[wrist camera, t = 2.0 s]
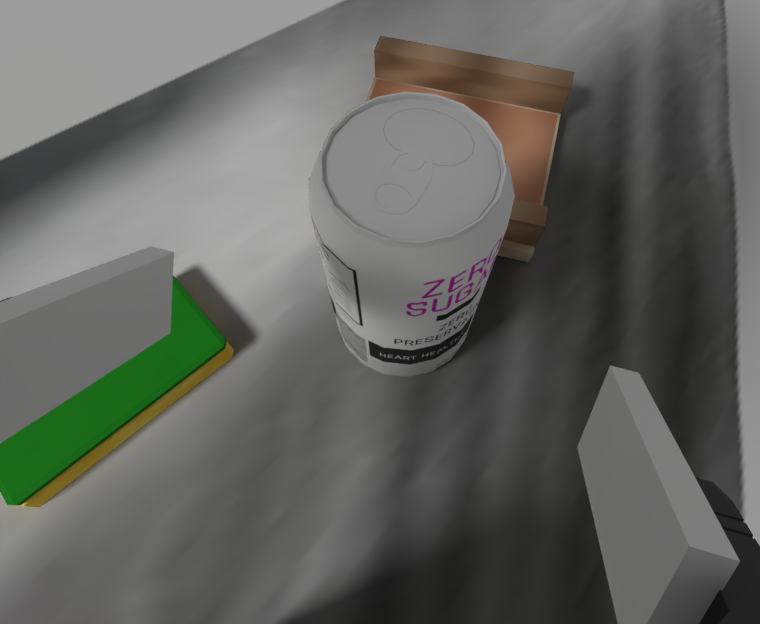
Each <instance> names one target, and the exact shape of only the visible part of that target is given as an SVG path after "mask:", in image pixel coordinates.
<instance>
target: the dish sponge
mask: <svg viewBox="0 0 760 624" xmlns="http://www.w3.org/2000/svg"><path fill="white" fill-rule="evenodd" d="M233 352H234V349H233V348H232V347H231V345H230V344H229V343H228V342H227V340H226V339H225V338H224V337H223V336H222V334H221V333H220V332H219V331H218V329H217V328H216V327H215V326H214V325H213V323H212V322H211V321H210V320H209V319H208V317H207V316H206V315H205V314H204V312H203V311H202V310H201V309H200V308H199V306H198V305H197V304H196V303H195V301H194V300H193V299H192V298H191V297H190V295H189V294H188V293H187V292H186V290H185V289H184V288H183V287H182V286H181V284H180V283H179V282H178V281H177V280H176V278H175V277H174V276H173V284H172V309H171V333H170V334H168V335H166V336H165V337H163V338H162V339H160V340H159V341H157V342H156V343H154V344H153V345H151V346H150V347H148V348H146V349H145V350H143V351H142V352H140V353H139V354H137V355H136V356H134V357H133V358H131V359H130V360H128V361H126V362H125V363H123V364H122V365H120V366H119V367H117V368H116V369H114V370H113V371H111V372H110V373H108V374H106V375H105V376H103V377H102V378H100V379H99V380H97V381H96V382H94V383H93V384H91V385H90V386H88V387H86V388H85V389H83V390H82V391H80V392H79V393H77V394H76V395H74V396H73V397H71V398H70V399H68V400H66V401H65V402H63V403H62V404H60V405H59V406H57V407H56V408H54V409H53V410H51V411H50V412H48V413H46V414H45V415H43V416H42V417H40V418H39V419H37V420H36V421H34V422H33V423H31V424H30V425H28V426H26V427H25V428H23V429H22V430H20V431H19V432H17V433H16V434H14V435H13V436H11V437H10V438H8V439H6V440H5V441H3V442H2V443H0V492H1V494H2V496H3V497H4V499H5V501H6V503H7V505H17V506H27V507H40V506H41V505H43V504H44V503H45V502H47V501H48V500H49V499H50V498H52V497H53V496H54V495H56V494H57V493H58V492H59V491H61V490H62V489H63V488H65V487H66V486H67V485H68V484H70V483H71V482H72V481H74V480H75V479H76V478H77V477H79V476H80V475H81V474H83V473H84V472H85V471H86V470H88V469H89V468H90V467H92V466H93V465H94V464H95V463H97V462H98V461H99V460H101V459H102V458H103V457H104V456H106V455H107V454H108V453H110V452H111V451H112V450H114V449H115V448H116V447H117V446H119V445H120V444H121V443H123V442H124V441H125V440H126V439H128V438H129V437H130V436H132V435H133V434H134V433H135V432H137V431H138V430H139V429H141V428H142V427H143V426H144V425H146V424H147V423H148V422H150V421H151V420H152V419H153V418H155V417H156V416H157V415H159V414H160V413H161V412H162V411H164V410H165V409H166V408H168V407H169V406H170V405H171V404H173V403H174V402H175V401H177V400H178V399H179V398H180V397H182V396H183V395H184V394H186V393H187V392H188V391H190V390H191V389H192V388H193V387H195V386H196V385H197V384H199V383H200V382H201V381H202V380H204V379H205V378H206V377H208V376H209V375H210V374H211V373H213V372H214V371H215V370H217V369H218V368H219V367H220V366H222V365H223V364H224V363H226V362H227V361H228V360H229V359H231V358H232V357H233Z"/></svg>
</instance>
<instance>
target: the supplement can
mask: <svg viewBox="0 0 760 624" xmlns="http://www.w3.org/2000/svg"><path fill="white" fill-rule="evenodd" d="M514 198H515V194H514V189H513V184H512V179H511V173H510V168H509V165H508V164H507V162H506V160H505V158H504V153H503V148H502V144H501V142H500V141H499V139H498V138H497V136H496V135H495V133H494V131H493V130H492V128H491V127H490V125H489V124H488V122H487V121H486V120H484V119H483V118H482V117H480V116H479V115H478V114H476V113H475V112H474V111H472V110H471V109H470V108H468V107H467V106H466V105H464V104H462V103H459V102H457V101H454V100H451V99H448V98H445V97H443V96H440V95H437V94H430V93H417V92H400V93H395V94H390V95H385V96H379V97H375V98H373V99H371V100H369V101H367V102H365V103H363V104H361V105H359V106H357V107H355V108H353V109H351V110H349V111H348V112H347V113H346V114H345V115H344V116H343V117H342V118H341V119H340V120H339V121H338V122H337V124H336V125H335V126H334V127H333V128H332V129H331V130H330V131H329V134H328V136H327V138H326V140H325V143H324V145H323V147H322V150H321V151H320V154H319V156H318V158H317V161H316V163H315V165H314V168H313V170H312V172H311V175H310V177H309V210H310V214H311V218H312V222H313V227H314V231H315V235H316V239H317V243H318V247H319V251H320V255H321V259H322V263H323V267H324V272H325V276H326V280H327V284H328V288H329V292H330V296H331V300H332V304H333V308H334V312H335V316H336V321H337V325H338V328H339V330H340V333H341V335H342V337H343V340H344V342H345V344H346V347H347V348H348V349H349V350H350V351H351V352H352V353H353V354H354V355H355V356H356V358H357V359H358V360H359V361H360V362H361V363H362V364H364V365H366V366H368V367H370V368H372V369H374V370H376V371H378V372H380V373H383V374H386V375H395V376H404V377H410V376H415V375H419V374H423V373H428V372H432V371H433V370H435V369H436V368H438V367H440V366H441V365H443V364H444V363H446V362H447V361H449V360H450V359H452V357H453V356H454V355H455V353H456V352H457V350H458V349H459V348H460V346H461V345H462V344H463V342H464V341H465V338H466V336H467V333H468V330H469V328H470V325H471V322H472V320H473V317H474V314H475V312H476V309H477V306H478V304H479V301H480V298H481V296H482V293H483V290H484V288H485V285H486V282H487V280H488V277H489V274H490V272H491V269H492V266H493V264H494V261H495V258H496V256H497V253H498V250H499V248H500V245H501V242H502V240H503V237H504V234H505V232H506V229H507V226H508V223H509V218H510V214H511V210H512V206H513V202H514Z"/></svg>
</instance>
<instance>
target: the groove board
mask: <svg viewBox="0 0 760 624" xmlns="http://www.w3.org/2000/svg"><path fill="white" fill-rule="evenodd" d="M374 53H375V79H374V82H373V84H372V87H371V89H370V92H369V95H368V97H367V100H366V102H367V101H369V100H371V99H373V98H375V97H379V96H385V95H390V94H395V93H400V92H417V93H430V94H437V95H440V96H443V97H445V98H448V99H451V100H454V101H457V102H459V103H462V104H464V105H466V106H467V107H468V108H470V109H471V110H472V111H474V112H475V113H476V114H478V115H479V116H480V117H482V118H483V119H484V120H486V121H487V122H488V124H489V125H490V127H491V128H492V130H493V131H494V133H495V135H496V136H497V138H498V139H499V141H500V142H501V144H502V148H503V153H504V158H505V160H506V162H507V164H508V165H509V168H510V173H511V179H512V184H513V189H514V194H515V198H514V202H513V206H512V210H511V214H510V218H509V223H508V226H507V229H506V232H505V234H504V237H503V240H502V242H501V245H500V248H499V250H498V253H497V255H499V256H503V257H507V258H511V259H516V260H520V261H524V262H528V263H529V262H530V260H531V258H532V256H533V254H534V249H535V246H536V244H537V242H538V240H539V238H540V236H541V234H542V232H543V230H544V228H545V224H546V218H547V213H548V208H549V206H544V205H543V203H544V198H545V193H546V187H547V182H548V177H549V172H550V167H551V162H552V157H553V152H554V146H555V141H556V136H557V131H558V126H559V121H560V116H561V112H562V110H563V107H564V105H565V102H566V100H567V97H568V95H569V92H570V90H571V87H572V82H573V76H574V72H570V71H565V70H560V69H555V68H549V67H544V66H539V65H533V64H528V63H523V62H517V61H512V60H507V59H501V58H496V57H491V56H485V55H480V54H475V53H469V52H464V51H459V50H453V49H448V48H443V47H437V46H432V45H427V44H421V43H416V42H411V41H405V40H400V39H395V38H389V37H384V36H380V37H379V40H378V42H377V45H376V47H375V50H374Z"/></svg>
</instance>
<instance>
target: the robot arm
mask: <svg viewBox="0 0 760 624" xmlns="http://www.w3.org/2000/svg"><path fill="white" fill-rule="evenodd" d="M173 259H174V252H171V251H167V250H163V249H159V248H155V247H148V248H146V249H143V250H140V251H137V252H135V253H132V254H129V255H127V256H124V257H121V258H118V259H116V260H113V261H110V262H108V263H105V264H102V265H99V266H97V267H94V268H91V269H88V270H86V271H83V272H80V273H78V274H75V275H72V276H69V277H67V278H64V279H61V280H59V281H56V282H53V283H50V284H48V285H45V286H42V287H39V288H37V289H34V290H31V291H29V292H26V293H23V294H20V295H18V296H15V297H10V298H7V299H4V300H2V301H0V443H2V442H3V441H5V440H6V439H8V438H10V437H11V436H13V435H14V434H16V433H17V432H19V431H20V430H22V429H23V428H25V427H26V426H28V425H30V424H31V423H33V422H34V421H36V420H37V419H39V418H40V417H42V416H43V415H45V414H46V413H48V412H50V411H51V410H53V409H54V408H56V407H57V406H59V405H60V404H62V403H63V402H65V401H66V400H68V399H70V398H71V397H73V396H74V395H76V394H77V393H79V392H80V391H82V390H83V389H85V388H86V387H88V386H90V385H91V384H93V383H94V382H96V381H97V380H99V379H100V378H102V377H103V376H105V375H106V374H108V373H110V372H111V371H113V370H114V369H116V368H117V367H119V366H120V365H122V364H123V363H125V362H126V361H128V360H130V359H131V358H133V357H134V356H136V355H137V354H139V353H140V352H142V351H143V350H145V349H146V348H148V347H150V346H151V345H153V344H154V343H156V342H157V341H159V340H160V339H162V338H163V337H165V336H166V335H168V334H170V333H171V309H172V284H173ZM577 448H578V453H579V457H580V461H581V466H582V470H583V474H584V479H585V483H586V487H587V492H588V496H589V501H590V505H591V509H592V514H593V518H594V522H595V527H596V531H597V535H598V540H599V544H600V549H601V553H602V557H603V562H604V566H605V570H606V575H607V579H608V583H609V588H610V592H611V597H612V601H613V605H614V610H615V614H616V618H617V623H618V624H760V546H759V545H758V543H757V542H756V540H755V539H753V538H752V536H753V535H752V533H751V531H750V530H749V528H748V526H747V525H746V523H743V518H742V516H741V515H740V513H739V511H738V510H737V508H736V506H735V505H734V503H733V501H732V500H731V499H730V498H729V497H728V496H727V495H725V494H724V493H723V492H722V491H721V490H720V489H719V488H718V487H717V486H716V485H715V484H714V483H713V482H710V481H706V480H702V479H699V478H695V476H694V474H693V473H692V471H691V469H690V467H689V465H688V463H687V461H686V460H685V458H684V456H683V454H682V452H681V450H680V448H679V447H678V445H677V443H676V441H675V439H674V437H673V435H672V434H671V432H670V430H669V428H668V426H667V424H666V422H665V421H664V419H663V417H662V415H661V413H660V411H659V409H658V407H657V406H656V404H655V402H654V400H653V398H652V396H651V394H650V393H649V391H648V389H647V387H646V385H645V383H644V381H643V380H642V378H641V376H640V374H639V373H638V372H634V371H630V370H626V369H622V368H618V367H614V366H611V365H610V367H609V370H608V372H607V375H606V377H605V380H604V382H603V385H602V387H601V390H600V392H599V395H598V397H597V399H596V402H595V404H594V407H593V409H592V412H591V414H590V417H589V419H588V422H587V424H586V427H585V429H584V432H583V434H582V437H581V439H580V442H579V444H578V447H577Z"/></svg>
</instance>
